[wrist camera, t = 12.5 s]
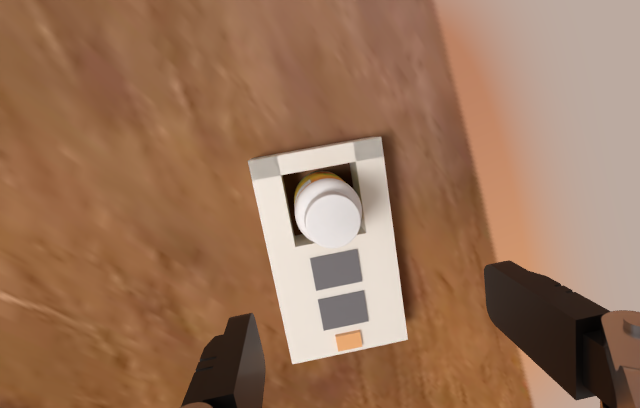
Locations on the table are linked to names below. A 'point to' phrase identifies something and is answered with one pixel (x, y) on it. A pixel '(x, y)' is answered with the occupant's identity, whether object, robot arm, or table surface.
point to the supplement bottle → (327, 209)
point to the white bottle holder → (333, 257)
